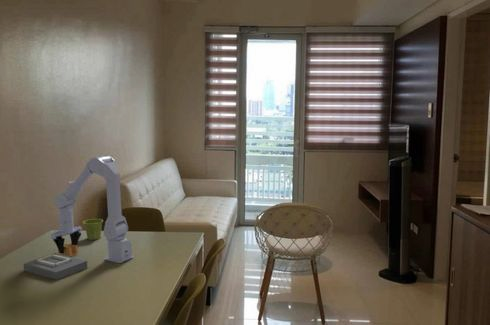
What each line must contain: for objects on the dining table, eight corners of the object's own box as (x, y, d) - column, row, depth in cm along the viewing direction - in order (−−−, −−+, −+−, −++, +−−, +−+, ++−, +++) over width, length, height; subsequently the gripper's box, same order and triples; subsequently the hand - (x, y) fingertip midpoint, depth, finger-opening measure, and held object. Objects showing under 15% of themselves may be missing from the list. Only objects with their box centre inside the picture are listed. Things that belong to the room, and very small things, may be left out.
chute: (78, 254, 192) (77, 245, 191) (70, 257, 188) (69, 248, 188) (66, 251, 196) (65, 243, 195) (58, 254, 192) (57, 245, 192)
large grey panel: (87, 268, 174) (86, 258, 173) (56, 280, 162) (56, 269, 161) (55, 260, 184) (54, 250, 183) (24, 270, 172) (23, 260, 171)
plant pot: (100, 241, 210) (99, 223, 209) (80, 241, 211) (79, 223, 210) (106, 235, 220) (105, 218, 219) (88, 235, 220) (87, 219, 219)
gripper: (74, 216, 198) (75, 245, 200) (45, 223, 186) (47, 254, 187) (84, 217, 195) (86, 247, 196) (56, 225, 182) (58, 256, 184)
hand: (68, 250), depth 192 cm, fingers open, 6 cm apart
